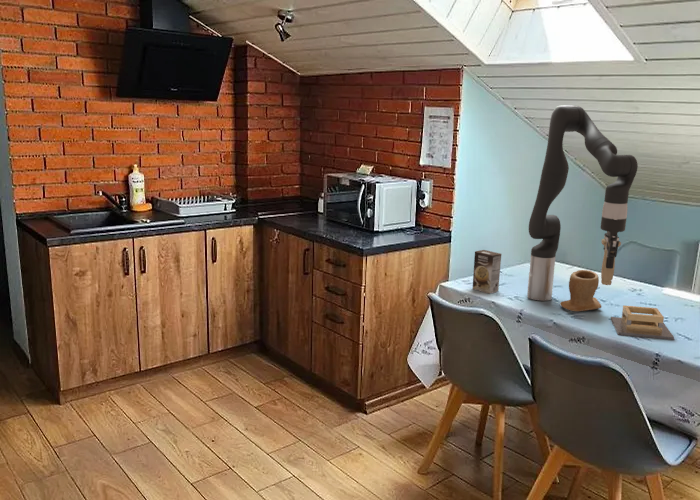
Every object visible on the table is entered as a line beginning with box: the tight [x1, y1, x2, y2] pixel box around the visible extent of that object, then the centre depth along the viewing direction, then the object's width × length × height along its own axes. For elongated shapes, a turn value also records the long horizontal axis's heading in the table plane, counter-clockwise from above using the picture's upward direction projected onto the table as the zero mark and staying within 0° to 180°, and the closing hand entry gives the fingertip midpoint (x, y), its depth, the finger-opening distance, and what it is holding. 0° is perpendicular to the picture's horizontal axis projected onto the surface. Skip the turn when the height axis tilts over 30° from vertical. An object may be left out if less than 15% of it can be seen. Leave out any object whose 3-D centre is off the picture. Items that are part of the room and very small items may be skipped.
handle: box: [600, 238, 622, 286], centre depth 205 cm, size 5×6×15 cm
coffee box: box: [472, 249, 502, 295], centre depth 251 cm, size 9×6×16 cm
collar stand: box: [610, 305, 675, 341], centre depth 209 cm, size 17×16×6 cm
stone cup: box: [559, 269, 602, 312], centre depth 228 cm, size 15×12×15 cm
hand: (608, 266), depth 205 cm, fingers closed on handle, 4 cm apart
